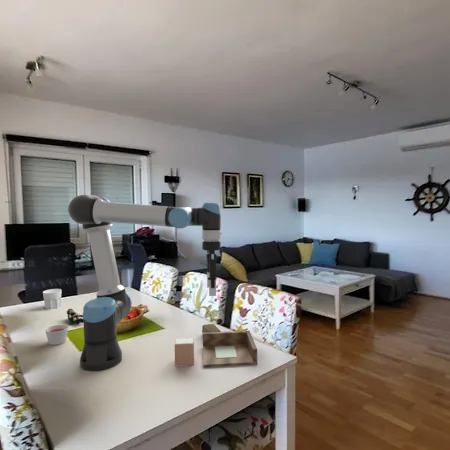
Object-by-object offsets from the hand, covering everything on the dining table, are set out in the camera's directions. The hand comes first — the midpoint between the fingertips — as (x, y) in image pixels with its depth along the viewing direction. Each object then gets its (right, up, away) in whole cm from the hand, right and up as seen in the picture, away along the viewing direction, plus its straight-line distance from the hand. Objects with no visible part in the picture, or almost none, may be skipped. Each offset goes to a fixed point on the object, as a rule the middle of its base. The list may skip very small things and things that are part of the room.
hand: (211, 291), depth 136 cm
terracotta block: (-10, -25, -11) cm, 29 cm away
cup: (-98, -22, +61) cm, 117 cm away
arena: (+7, -24, -6) cm, 26 cm away
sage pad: (+6, -23, -5) cm, 24 cm away
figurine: (-73, -23, +35) cm, 84 cm away
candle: (-68, -25, +9) cm, 73 cm away
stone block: (0, -24, +12) cm, 26 cm away
